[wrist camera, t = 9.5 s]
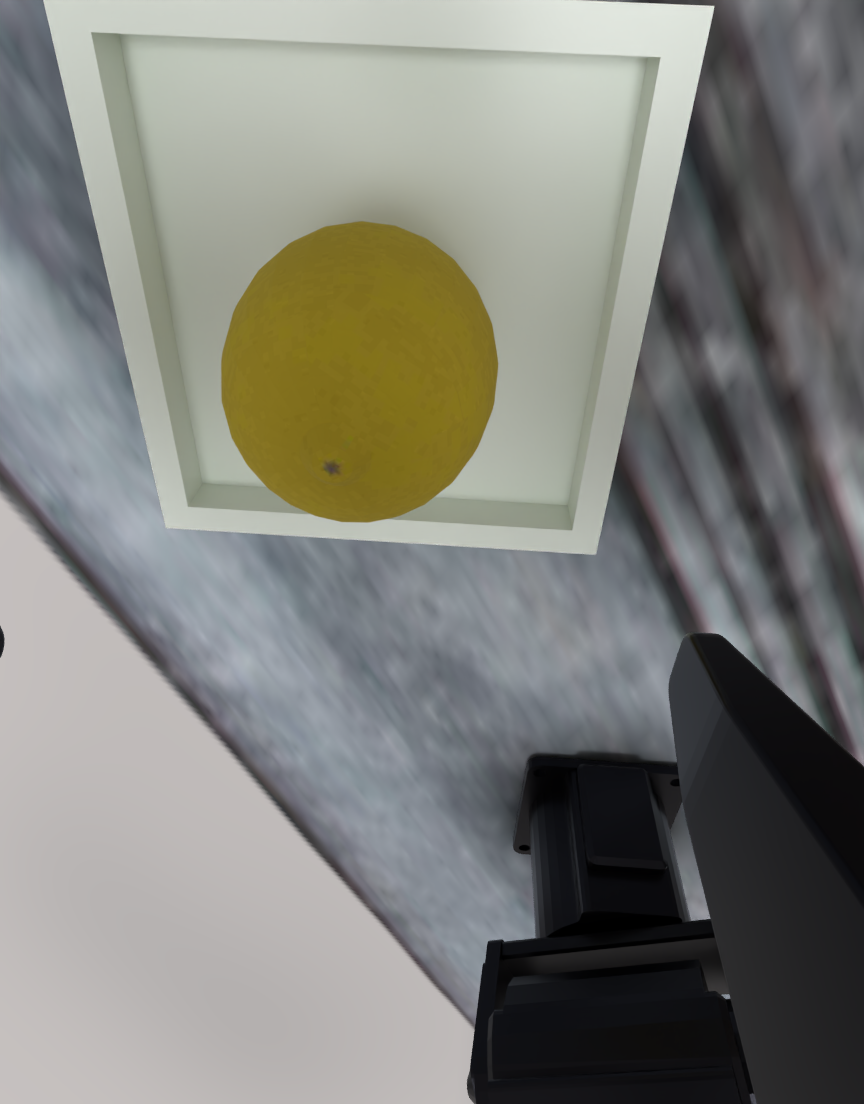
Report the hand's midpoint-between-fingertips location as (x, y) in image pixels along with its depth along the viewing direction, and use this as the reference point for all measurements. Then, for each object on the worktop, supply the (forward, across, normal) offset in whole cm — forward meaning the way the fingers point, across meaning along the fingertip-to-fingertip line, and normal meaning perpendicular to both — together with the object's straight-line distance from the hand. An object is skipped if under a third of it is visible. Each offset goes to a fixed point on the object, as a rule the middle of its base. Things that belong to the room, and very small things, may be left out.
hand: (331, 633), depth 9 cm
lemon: (+12, +1, 0) cm, 12 cm away
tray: (+12, +1, 0) cm, 12 cm away
